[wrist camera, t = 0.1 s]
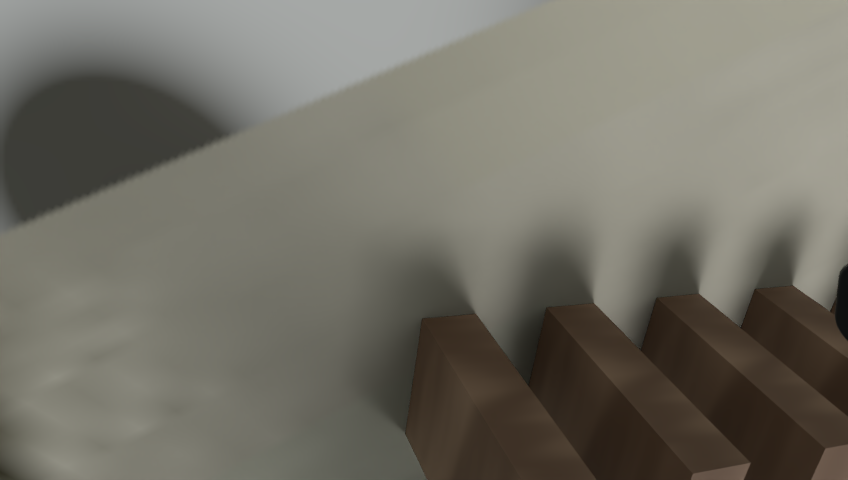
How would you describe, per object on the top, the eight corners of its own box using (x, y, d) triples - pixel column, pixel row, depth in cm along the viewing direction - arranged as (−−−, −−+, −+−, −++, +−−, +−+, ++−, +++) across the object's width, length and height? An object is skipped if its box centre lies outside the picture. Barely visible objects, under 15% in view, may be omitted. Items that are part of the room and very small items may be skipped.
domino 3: (699, 293, 31) (875, 439, 24) (665, 395, 33) (817, 556, 26) (656, 297, 30) (825, 448, 23) (625, 401, 32) (770, 568, 25)
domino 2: (594, 303, 29) (750, 462, 22) (566, 410, 31) (700, 585, 24) (546, 307, 28) (692, 474, 21) (521, 416, 30) (646, 599, 23)
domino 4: (792, 285, 32) (982, 418, 25) (754, 383, 35) (920, 530, 28) (754, 289, 32) (939, 427, 25) (718, 388, 34) (879, 540, 27)
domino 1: (475, 313, 27) (604, 491, 20) (455, 426, 29) (565, 620, 22) (422, 318, 26) (536, 503, 19) (405, 433, 29) (502, 636, 22)
